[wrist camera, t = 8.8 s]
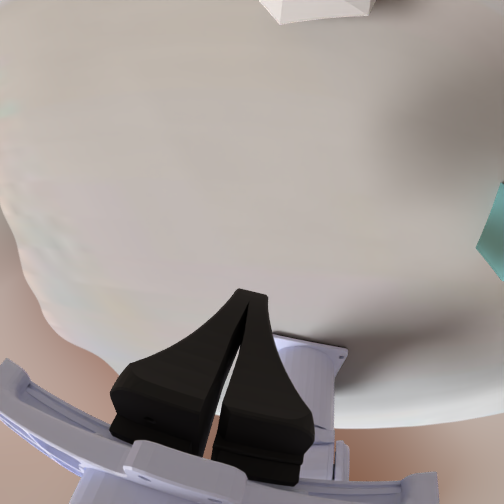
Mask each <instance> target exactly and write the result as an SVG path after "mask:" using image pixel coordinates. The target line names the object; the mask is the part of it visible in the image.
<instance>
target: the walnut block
mask: <svg viewBox="0 0 504 504" xmlns="http://www.w3.org/2000/svg"><path fill="white" fill-rule="evenodd" d="M476 249H477V250H478V251H479V253H480V254H481V255H482V256H483V257H484V259H485V260H486V261H487V262H488V264H489V265H490V266H491V267H492V269H493V270H494V271H495V273H496V274H497V275H498V276H499V278H500V279H501V280H502V281H504V184H503V183H500V187H499V190H498V193H497V195H496V198H495V201H494V204H493V207H492V209H491V212H490V215H489V217H488V220H487V222H486V225H485V227H484V230H483V232H482V235H481V237H480V239H479V242H478V244H477V246H476Z"/></svg>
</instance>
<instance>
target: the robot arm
mask: <svg viewBox="0 0 504 504" xmlns="http://www.w3.org/2000/svg"><path fill="white" fill-rule="evenodd" d="M239 346H240V350H239V355H238V358H237V361H236V364H235V367H234V370H233V373H232V376H231V379H230V382H229V385H228V388H227V391H226V394H225V397H224V399H223V402H222V408H221V413H220V419H219V424H218V430H217V434H216V437H215V441H214V444H213V450H212V456H211V460H209V459H205V458H202V457H203V454H204V450H205V447H206V443H207V439H208V436H209V433H210V429H211V426H212V422H213V419H214V416H215V412H216V409H217V405H218V402H219V399H220V395H221V392H222V389H223V386H224V383H225V381H226V378H227V376H228V373H229V371H230V368H231V366H232V364H233V361H234V359H235V356H236V354H237V351H238V349H239ZM347 355H348V350H347V349H346V348H341V347H335V346H330V345H324V344H319V343H314V342H308V341H303V340H298V339H294V338H289V337H284V336H279V335H275V334H272V330H271V325H270V320H269V313H268V297H267V295H265V294H260V293H256V292H252V291H248V290H244V289H240V288H239V289H237V290H236V291H235V293H234V294H233V295H232V297H231V298H230V299H229V300H228V301H227V302H226V304H225V305H224V306H223V307H222V308H221V309H220V310H219V311H218V312H217V313H216V314H215V315H214V316H213V317H211V318H210V319H209V320H208V321H207V322H206V323H205V324H203V325H202V326H201V327H200V328H198V329H197V330H196V331H194V332H193V333H192V334H190V335H189V336H187V337H186V338H184V339H183V340H181V341H179V342H178V343H176V344H174V345H173V346H171V347H169V348H167V349H165V350H163V351H161V352H158V353H156V354H154V355H152V356H149V357H147V358H144V359H141V360H138V361H136V362H133V363H130V364H129V365H128V366H127V367H126V368H125V369H124V371H123V372H122V373H121V374H120V376H119V377H118V379H117V380H116V382H115V384H114V386H113V387H112V389H111V391H110V397H111V400H112V402H113V405H114V407H115V410H116V412H117V415H116V417H115V419H114V420H113V422H112V424H111V425H110V424H108V423H106V422H104V421H102V420H100V419H97V418H95V417H93V416H91V415H89V414H87V413H85V412H84V411H82V410H79V409H78V408H76V407H74V406H72V405H70V404H69V403H66V402H65V401H63V400H61V399H60V398H58V397H56V396H55V395H53V394H51V393H49V392H48V391H46V390H44V389H43V388H41V387H40V386H38V385H37V384H35V383H33V382H32V381H31V379H30V378H29V375H28V374H27V373H26V371H25V370H24V369H23V368H21V367H20V366H19V365H17V364H16V363H14V362H13V361H11V360H10V359H8V358H6V359H5V360H4V361H3V363H2V364H1V365H0V420H1V421H2V422H3V423H4V424H6V425H7V426H8V427H9V428H11V429H12V430H13V431H14V432H16V433H17V434H18V435H19V436H21V437H22V438H23V439H25V440H26V441H27V442H29V443H30V444H31V445H33V446H34V447H35V448H37V449H38V450H39V451H41V452H42V453H44V454H45V455H46V456H48V457H49V458H51V459H52V460H54V461H55V462H57V463H58V464H60V465H61V466H63V467H64V468H66V469H68V470H69V471H71V472H72V473H74V474H76V475H77V476H79V477H81V479H80V481H79V483H78V485H77V487H76V489H75V491H74V493H73V495H72V498H71V500H70V502H69V504H439V490H438V480H437V472H425V473H415V474H411V475H409V476H407V477H405V478H404V479H402V480H401V481H375V482H361V481H359V482H358V481H349V447H348V446H347V445H346V444H344V441H342V440H341V441H336V452H335V463H334V464H333V459H334V435H335V434H334V433H335V431H334V378H335V376H336V375H337V373H338V371H339V370H340V368H341V366H342V364H343V362H344V361H345V359H346V357H347Z"/></svg>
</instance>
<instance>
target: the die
mask: <svg viewBox="0 0 504 504" xmlns="http://www.w3.org/2000/svg"><path fill="white" fill-rule="evenodd" d="M259 2H260V3H261V4H262V5H263V6H264V7H265V8H266V9H267V11H268V12H269V13H270V14H271V15H272V16H273V17H274V19H275V20H276V21H277V22H278V23H279V25H282V24H288V23H294V22H301V21H308V20H316V19H326V18H337V17H351V16H369V14H370V12H371V10H372V8H373V6H374V4H375V2H376V0H259Z"/></svg>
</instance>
